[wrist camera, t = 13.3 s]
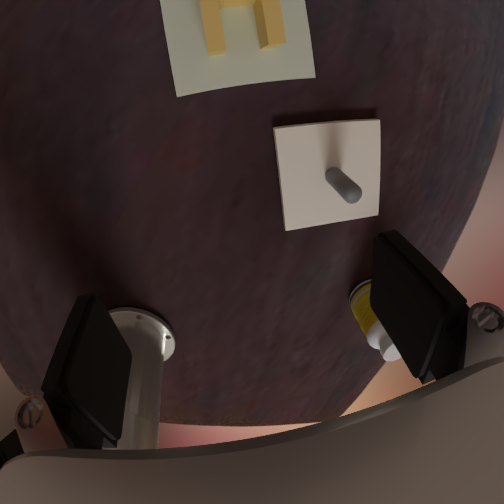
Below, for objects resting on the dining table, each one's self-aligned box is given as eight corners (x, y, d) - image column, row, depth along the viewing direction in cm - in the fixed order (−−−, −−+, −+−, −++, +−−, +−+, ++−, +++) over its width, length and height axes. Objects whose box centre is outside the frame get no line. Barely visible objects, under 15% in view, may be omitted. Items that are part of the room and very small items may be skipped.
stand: (284, 226, 37) (297, 256, 31) (272, 127, 30) (286, 140, 25) (374, 211, 37) (399, 237, 32) (375, 118, 30) (406, 130, 25)
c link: (199, -1, 21) (196, -14, 17) (266, -9, 22) (275, -23, 17) (208, 56, 25) (207, 52, 21) (275, 47, 25) (286, 43, 21)
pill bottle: (339, 297, 44) (368, 357, 35) (372, 269, 42) (409, 325, 33) (360, 315, 47) (388, 370, 37) (391, 290, 45) (425, 343, 35)
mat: (177, 96, 27) (177, 97, 27) (157, -23, 20) (156, -24, 19) (314, 77, 28) (315, 77, 27) (295, -39, 20) (296, -40, 19)
